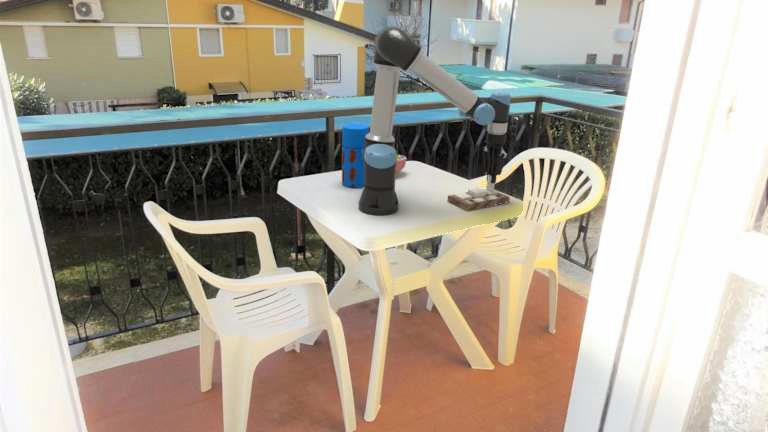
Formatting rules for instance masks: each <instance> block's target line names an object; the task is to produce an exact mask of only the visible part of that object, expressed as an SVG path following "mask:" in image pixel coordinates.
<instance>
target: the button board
mask: <svg viewBox="0 0 768 432" xmlns="http://www.w3.org/2000/svg"><path fill="white" fill-rule="evenodd" d="M465 193H466V194H468V191H467V192H465ZM510 200H511V196H508V195H506V194H504V193H501V192H499V194H497V195H491V196H488V195H486V196H485V197H480V198H474V197H472V199H469V200H463V201H461V200H459V199H457V198H455V197H454V194H449V195H447V201H446V202H447V203H449V204H452V205H454V206H455V207H458V208H459V207H460V209H462V210H464V211H466V212H469V211H474V209H475V210H479V208H480V209H484V208H483V207H485V208H488V207H487V206H490V207H492V206H491V205H495V204H500V203H506V202H509V203H510ZM506 204H507V203H506Z"/></svg>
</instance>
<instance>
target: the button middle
mask: <svg viewBox="0 0 768 432" xmlns="http://www.w3.org/2000/svg"><path fill="white" fill-rule="evenodd" d="M467 192H468V195H470V196H472V197H474V198H480V197H485V196H486V191H484V190H483V189H482V188H478V187H476V188H475V187H474V188H470V189H469V188H468V189H467Z"/></svg>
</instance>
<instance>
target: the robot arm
mask: <svg viewBox="0 0 768 432" xmlns="http://www.w3.org/2000/svg"><path fill="white" fill-rule="evenodd" d="M376 34H377V35H376V36H375V39H374V48H375V49H374V55H373V56H374V57H373V65H374V66H375V68H376V76H375V82H374V84H375V85H374V91H373V93H374V94H373V102H372V110H371V118H370V119H371V120H370V127H369V133H368V134H367V135H366V136H365V144H364V149H363V152H362V157H363V161H364V187H363V190H362V192H361V194H360V197H359V200H358V210H359V211H360V212H362V213H366V214H367V215H375V216H384V215H385V216H386V215H387V216H388V215H392V214H396V213H397V212H398V211H399V207H400V205H399V204H400V203H399V199H398V196H397V194H396V193H397V192H396V174H397V173H396V160H397V155H396V154H397V151H396V149H395V145H396V144H395V143H396V139H395V137H394V136H393V130H394V129H393V128H394V121H395V112H396V106H397V97H398V90H399V82H400V81H399V80H400V73H401V71H404V72H410V73H411V74H413V75H414V76H415V77H417V79H419V80H421V81H422V83H425V84H426V85H427V86H428V87H430V88H431V89H433V90H434V91H435V92H437V94H439V95H440V96H442V97H443V98H445V99H446V100H447V101H448V102H450V103H451V104H452V105H453V106H455V107H456V108H457V113H458V115H459V117H465V118H470V119H472V120H473V121H474V122H475V123H476V124H477V125H481V126H487V129H486V131H487V133H486V137H485V138H486V139H485V141H486V146H481V153H482V159H483V162H482V163H483V171H484V172H486V174H487V175H486V188H485V189H486V190H487V191H492V190H495V184H496V183H497V176H500V175H502V171H503V169H504V165H505V163H506V159H507V158H508V156H509V153H508V152H506V151H505V146H504V145H505V143H506V141H507V134H506V133H508V132H507V131H508V123H509V114H510V109H511V94H510V93H509V92H505V91H492V92H491V93H490V96H488V97H484V96H483V97H482V96H478V94H476V93H475V92H473V90H471V89H470V88H468V87H467V86H466V85H465V84H464V83H462V82H461V81H460V80H458V78H456V77H454V76H453V75H452V74H451V73H449V72H447V70H446V69H444V68H443V67H442V66H440V64H438V63H436V61H434V60H432V59H431V58H430V57H429V56H427V55H426V54H425V53H424V52H423V48H422V47H421V46H420V45H419V44H417V42H415V41H414V40H413V39H412V38H411V37H410V36H409V35H408V34H407V32H406V31H405V30H403V29H401V28H400V27H398V26H392V25H390V26H386V27H383V28H382V29H380V30H379V31H378V32H377V33H376Z"/></svg>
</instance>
